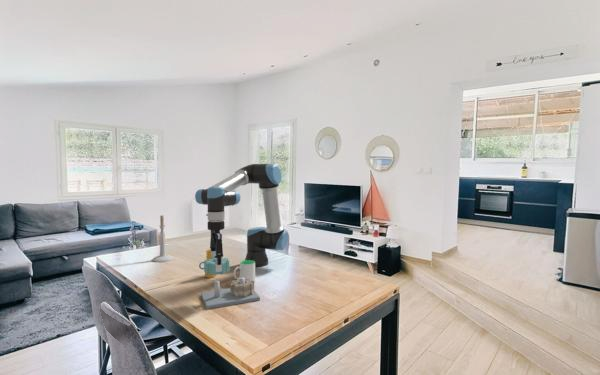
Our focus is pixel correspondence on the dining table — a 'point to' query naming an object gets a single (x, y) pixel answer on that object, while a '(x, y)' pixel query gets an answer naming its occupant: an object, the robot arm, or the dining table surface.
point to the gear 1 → (211, 266)
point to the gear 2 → (242, 288)
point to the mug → (246, 270)
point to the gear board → (225, 297)
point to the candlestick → (162, 245)
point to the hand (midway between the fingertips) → (216, 268)
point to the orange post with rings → (208, 255)
